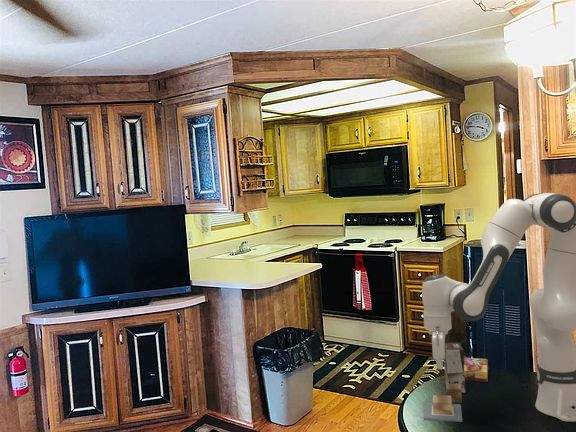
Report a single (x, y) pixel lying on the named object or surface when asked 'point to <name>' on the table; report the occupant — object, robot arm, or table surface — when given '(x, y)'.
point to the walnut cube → (454, 392)
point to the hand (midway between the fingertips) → (440, 363)
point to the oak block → (442, 404)
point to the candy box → (476, 369)
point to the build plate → (454, 417)
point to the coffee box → (454, 365)
